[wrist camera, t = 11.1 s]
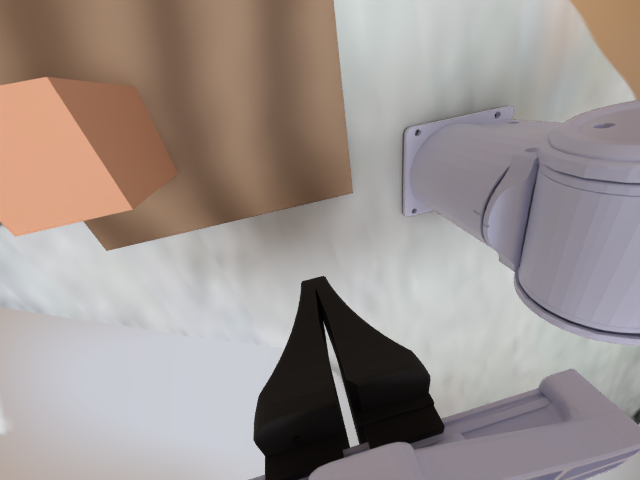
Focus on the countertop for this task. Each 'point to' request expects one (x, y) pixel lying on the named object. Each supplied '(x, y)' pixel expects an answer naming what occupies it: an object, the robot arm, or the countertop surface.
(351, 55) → the countertop surface
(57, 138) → the orange rectangular block
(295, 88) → the board
